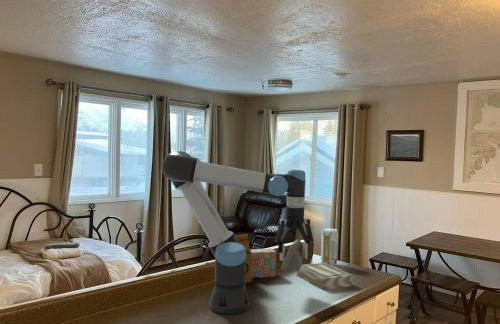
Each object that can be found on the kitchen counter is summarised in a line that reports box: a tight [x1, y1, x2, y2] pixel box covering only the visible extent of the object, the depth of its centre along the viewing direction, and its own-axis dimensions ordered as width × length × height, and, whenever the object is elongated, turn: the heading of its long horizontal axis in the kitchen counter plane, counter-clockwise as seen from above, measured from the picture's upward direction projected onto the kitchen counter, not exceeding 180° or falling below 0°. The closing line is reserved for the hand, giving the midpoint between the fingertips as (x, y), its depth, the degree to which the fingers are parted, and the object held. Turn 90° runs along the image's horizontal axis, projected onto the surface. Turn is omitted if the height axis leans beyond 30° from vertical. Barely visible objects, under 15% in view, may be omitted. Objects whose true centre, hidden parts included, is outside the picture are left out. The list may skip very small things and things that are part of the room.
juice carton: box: [320, 227, 339, 267], centre depth 216 cm, size 8×9×19 cm
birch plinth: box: [296, 262, 353, 291], centre depth 189 cm, size 16×22×5 cm
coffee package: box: [235, 233, 253, 284], centre depth 182 cm, size 10×12×22 cm
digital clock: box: [280, 238, 304, 272], centre depth 169 cm, size 16×9×11 cm, turn 152°
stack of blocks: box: [250, 248, 277, 279], centre depth 193 cm, size 21×6×12 cm, turn 107°
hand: (293, 259), depth 169 cm, fingers closed on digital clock, 10 cm apart
